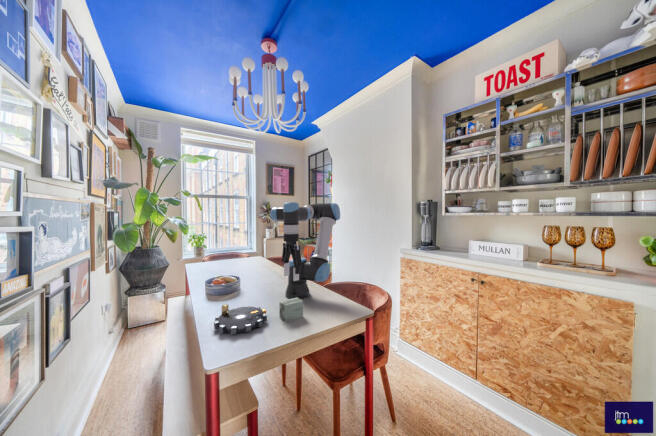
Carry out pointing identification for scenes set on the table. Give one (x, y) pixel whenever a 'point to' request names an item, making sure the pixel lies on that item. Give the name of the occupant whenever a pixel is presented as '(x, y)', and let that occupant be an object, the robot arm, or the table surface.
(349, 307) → the table surface
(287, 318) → the link block
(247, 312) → the sprocket wheel
